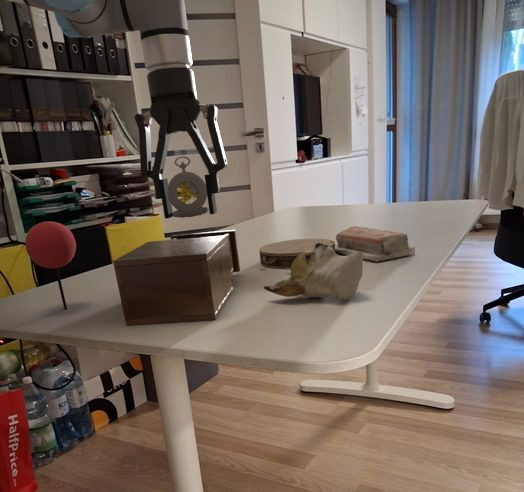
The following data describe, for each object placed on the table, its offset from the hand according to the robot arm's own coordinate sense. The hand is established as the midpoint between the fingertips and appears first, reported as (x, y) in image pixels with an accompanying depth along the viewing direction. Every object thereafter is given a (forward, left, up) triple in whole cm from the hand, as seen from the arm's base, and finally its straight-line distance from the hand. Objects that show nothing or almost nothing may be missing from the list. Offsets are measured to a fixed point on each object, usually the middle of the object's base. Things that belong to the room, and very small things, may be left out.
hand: (191, 215), depth 92 cm
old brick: (+32, +19, -13) cm, 39 cm away
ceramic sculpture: (+22, -12, -13) cm, 28 cm away
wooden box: (0, -13, -13) cm, 18 cm away
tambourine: (+17, +18, -13) cm, 28 cm away
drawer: (0, +3, -12) cm, 12 cm away
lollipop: (-22, -9, -13) cm, 27 cm away
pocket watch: (0, 0, 0) cm, 0 cm away
